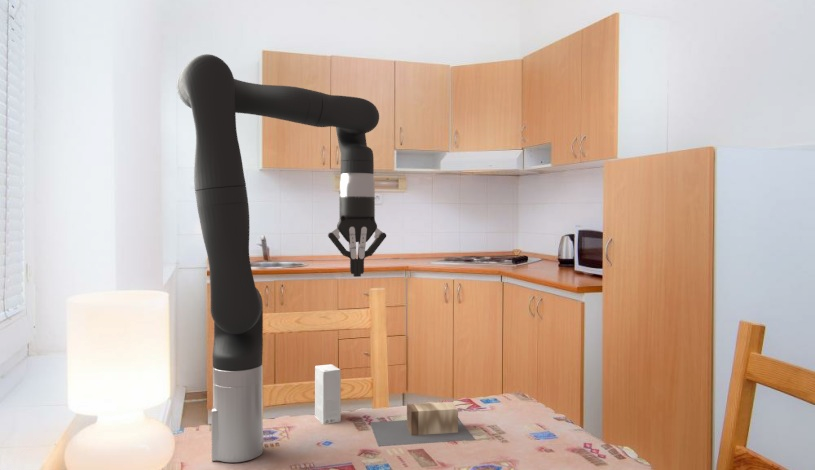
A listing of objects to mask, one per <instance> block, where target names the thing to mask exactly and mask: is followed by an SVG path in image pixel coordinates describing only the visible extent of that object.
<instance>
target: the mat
mask: <svg viewBox="0 0 815 470" xmlns="http://www.w3.org/2000/svg"><path fill="white" fill-rule="evenodd" d="M369 424H370V427H371V430H372V433H373V435H374V438H375V441H376V444H377V446H378V447H389V446H402V445H418V444H419V445H420V444H434V443H449V442H461V441H463V442H464V441H476V438H475V437H474V436H473V434H471V431H469V429H468V428H467V427H466V426H465V425H464V423H463V422H462V420H461V419H460V418H459V417H458V433H443V434H427V435H412V436H411V434H410V432H409V430H408V428H407V419H403V420H402V419H401V420H388V421H387V420H385V421H370V422H369Z"/></svg>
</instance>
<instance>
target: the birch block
mask: <svg viewBox="0 0 815 470" xmlns="http://www.w3.org/2000/svg"><path fill="white" fill-rule="evenodd" d="M458 418H459V409H458V407H457V406H456V405H455V403H454V402H453V401H445V402H444V401H442V402H425V403H422V402H421V403H407V404H406V420H407V428H408V430H409V432H410V434H411V436H412V435H427V434H443V433H458Z"/></svg>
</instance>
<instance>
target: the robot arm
mask: <svg viewBox="0 0 815 470" xmlns="http://www.w3.org/2000/svg"><path fill="white" fill-rule="evenodd" d="M176 91H177V94H178V96H179V98H180V100H181V102H182V103H183V104H185V106H187V107H189V108H190V109H191V112H192V117H193V122H194V128H195V152H194V168H193V179H194V180H193V183H194V191H195V200H196V208H197V213H198V218H199V219H198V220H199V225H200V230H201V233H202V238H203V242H204V243H203V244H204V247H205V250H206V255H207V259H208V268H209V284H210V285H209V286H210V314H211V318H212V320H213V326H214V327H213V329H214V330H213V349H212V408H211V413H210V414H211V419H210V420H211V425H210V426H211V461H214V462H215V461H218V462H224V463H242V462H247V461H251V460H253V459H256V458H258V457H259V456H261V455H262V454H263V451H264V432H263V431H264V423H263V420H264V416H263V414H264V413H263V412H264V409H263V405H264V403H263V397H264V395H263V390H264V389H263V386H264V385H263V382H264V381H263V377H264V376H263V375H264V374H263V356H264V355H263V354H264V351H263V348H264V339H263V338H264V336H263V335H264V333H263V332H264V331H263V330H264V326H263V325H264V323H263V321H264V316H263V315H264V307H263V306H264V305H263V298H262V295H261V292H260V291H259V289H258V288H257V287H256V284H255V280H254V274H253V271H252V266H251V265H252V264H251V258H250V206H249V199H248V191H247V183H246V178H245V172H244V165H243V159H242V154H241V148H240V147H241V146H240V144H239V139H238V133H237V118H236V116H237V115H236V114H246V115H254V116H261V117H266V118H273V119H277V120H282V121H286V122H287V121H288V122H291V123H296V124H301V125H306V126H311V127H315V128H327V127H328V128H329V127H330V128H331V127H332V128H334V127H335V131H336V132H335V133H336V137H337V142H338V147H339V151H340V178H339V190H338V195H339V219H338V222H337V225H336V228H335V229H334V230H332V231H331V232H328V234H327V237H328V238H329V239H330V241H331V243H332V244H333V245H334V246H335V247H336V248H337V250H338V251H339V252H340V254H341V255H342V256H343V257H346V258H349V271H350V274H351V275H352V276H353V277H362V274H364V273H365V259H366V258H368V257H371V256H373V255H374V253H376V251H377V250H378V248H379V247H380V246H381V245H382V243H383V242H384V241H385V239H386V238H387V234H386V233H385V232H383V231H381V230H380V229H379V228H378V223H377V222H376V219H375V217H376V215H375V214H376V207H375V205H376V203H375V202H376V200H375V199H376V197H375V196H376V195H375V193H376V191H375V190H376V185H375V178H374V177H375V176H374V175H375V174H374V168H375V167H374V162H375V161H374V152H373V149H372V148H370V147H369V146H368V145H367V138H366V137H367V136H366V134H367V133H370V132H372V131H373V130H374V129H375V128H376V127H377V126H378V124H379V122H380V121H379V120H380V113H379V110H378V107H376V105H375V104H374V103H373V102H372V101H370V100H368V99H365V98H361V97H356V96H355V97H354V96H347V95H346V96H345V95H336V94H335V95H332V94H328V93H324V92H320V91H317V90H312V89H307V88H305V87H304V88H303V87H298V86H288V85H278V84H277V85H271V84H259V83H254V82H253V83H252V82H248V81H243V80H239V79H236V78H234V74H233V72H232V70H231V68H230V67H229V65H228V64H227V63H226V62H225V61H224V60H223V59H222V58H220V57H219V56H216V55H213V54H210V53H209V54H208V53H206V54H201V55H197V56H195V57H193V58H192V59H191V60H190V61H189V62H188V63H187V64H186V65H185V66H184V68H183V69H182V71H181V72H180V73H179V74H178V77H177V81H176ZM340 234H341V235H340ZM340 236H342V237H343V238H344V240H345V241H346V242H348V248H349V249H348V250H347V249H346V248H345V246H344V245H343V244H342V242H341V241H340V240H339V239H340V238H341V237H340ZM371 237H373V238H374V240H373V242H372V243H371V244H370V245H369V246H368V248H367V249H366V245H367V242H368V241H369V240H370V239H371ZM357 243H358V244H357ZM357 248H358V249H357Z"/></svg>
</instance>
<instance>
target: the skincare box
mask: <svg viewBox="0 0 815 470" xmlns="http://www.w3.org/2000/svg"><path fill="white" fill-rule="evenodd" d="M341 370H342V369H340V368H338V367H337V366H335V365H334V364H333V363H330V364H322V365H320V364H319V365H315V366H314V372H315V373H314V417H315V418H316V419H317V420H318V421H319V422H320V423H321V424H322V425H328V424H333V423H335V424H336V423H340V422H342V421H341V420H342V419H341V418H342V415H341V413H342V411H341V410H342V407H341V406H342V404H341V403H342V402H341V401H342V398H341V396H342V392H341V391H342V389H341V388H342V385H341V383H342V382H341V381H342V380H341V379H342V378H341V377H342V375H341V374H342V372H341ZM315 415H316V416H315Z"/></svg>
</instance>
